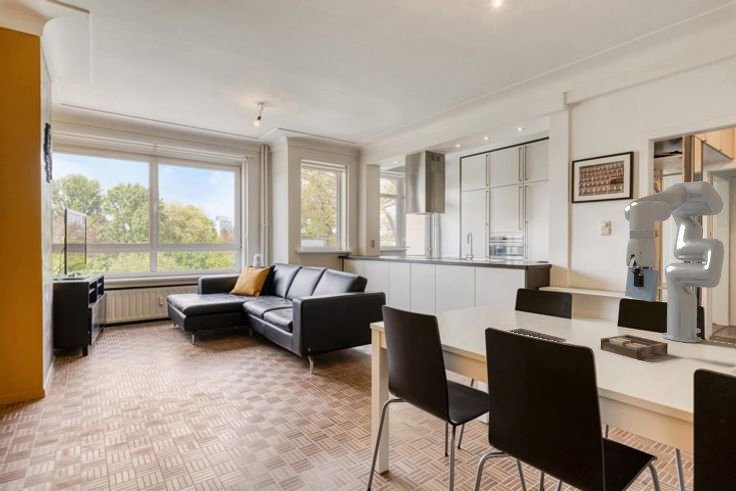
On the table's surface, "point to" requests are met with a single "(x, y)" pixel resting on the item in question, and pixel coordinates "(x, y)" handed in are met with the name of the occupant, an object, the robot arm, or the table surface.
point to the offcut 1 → (620, 341)
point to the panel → (649, 285)
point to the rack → (641, 353)
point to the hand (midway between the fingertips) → (641, 285)
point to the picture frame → (537, 334)
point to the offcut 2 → (634, 345)
